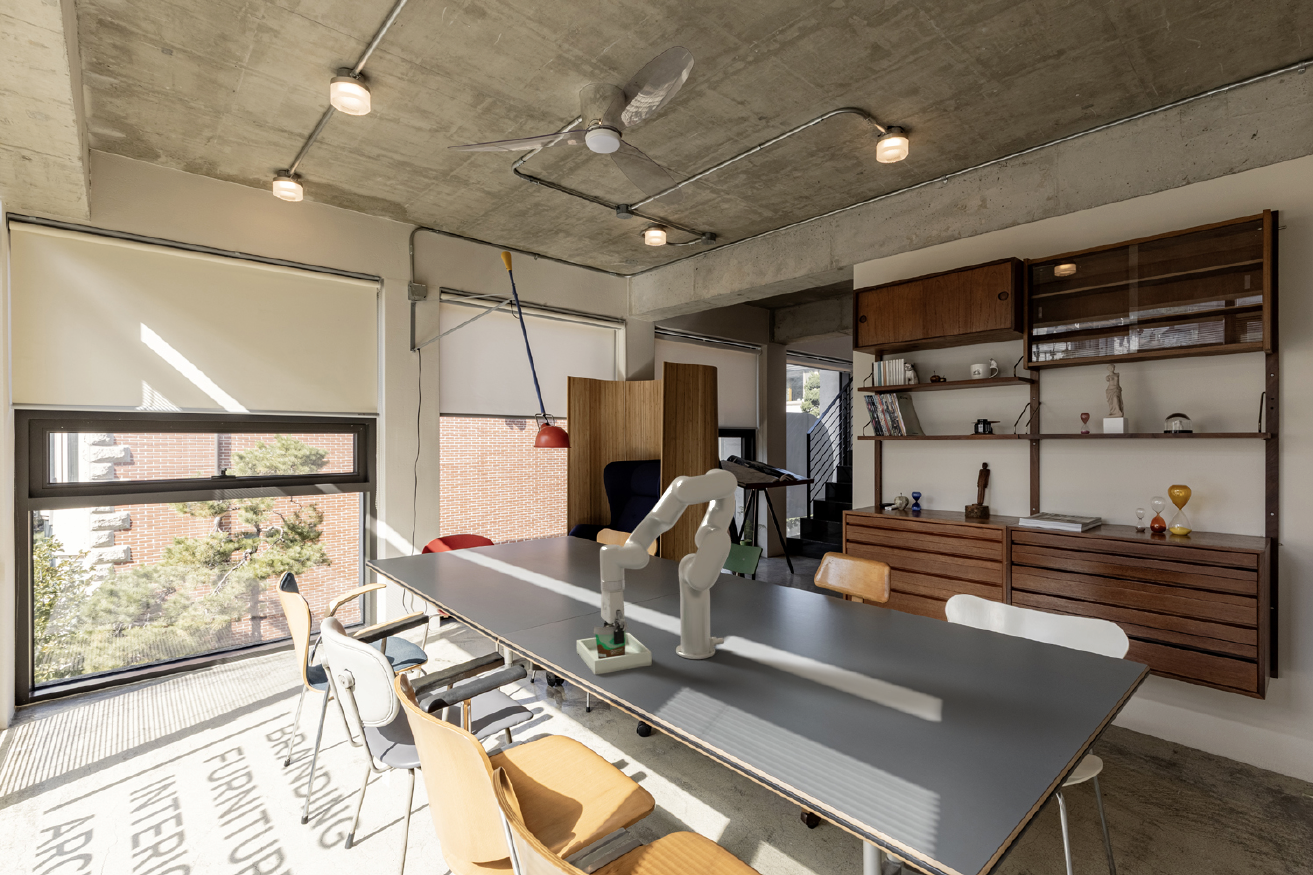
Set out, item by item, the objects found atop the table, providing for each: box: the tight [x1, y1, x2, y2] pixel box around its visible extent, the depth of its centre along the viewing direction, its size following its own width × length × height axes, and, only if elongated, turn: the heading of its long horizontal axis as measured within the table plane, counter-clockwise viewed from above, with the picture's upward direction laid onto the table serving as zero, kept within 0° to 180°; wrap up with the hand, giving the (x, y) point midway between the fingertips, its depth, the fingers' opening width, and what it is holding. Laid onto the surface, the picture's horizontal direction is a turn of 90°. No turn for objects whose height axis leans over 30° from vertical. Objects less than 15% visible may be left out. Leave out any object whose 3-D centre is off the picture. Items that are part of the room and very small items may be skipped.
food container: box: [593, 619, 629, 659], centre depth 189 cm, size 12×6×10 cm, turn 136°
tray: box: [576, 632, 653, 676], centre depth 190 cm, size 18×20×4 cm
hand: (614, 638), depth 190 cm, fingers open, 9 cm apart
